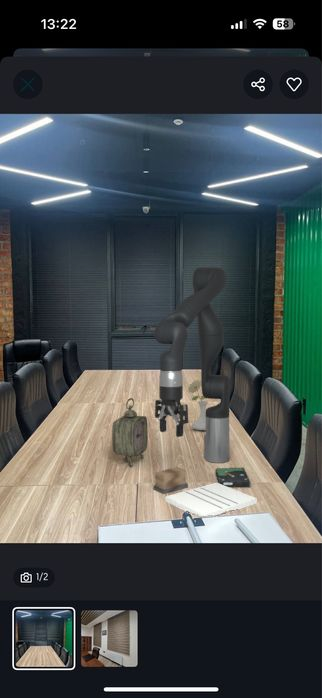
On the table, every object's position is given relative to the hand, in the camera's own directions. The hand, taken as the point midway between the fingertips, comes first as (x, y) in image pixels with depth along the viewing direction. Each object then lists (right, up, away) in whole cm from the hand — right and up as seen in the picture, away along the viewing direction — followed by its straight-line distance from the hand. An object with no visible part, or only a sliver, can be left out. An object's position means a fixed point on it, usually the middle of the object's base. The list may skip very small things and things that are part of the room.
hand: (171, 434), depth 162 cm
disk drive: (+21, -18, +10) cm, 30 cm away
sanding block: (0, -18, +2) cm, 19 cm away
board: (+12, -19, -10) cm, 25 cm away
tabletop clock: (-15, -17, +32) cm, 39 cm away
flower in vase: (+17, -13, +85) cm, 88 cm away
